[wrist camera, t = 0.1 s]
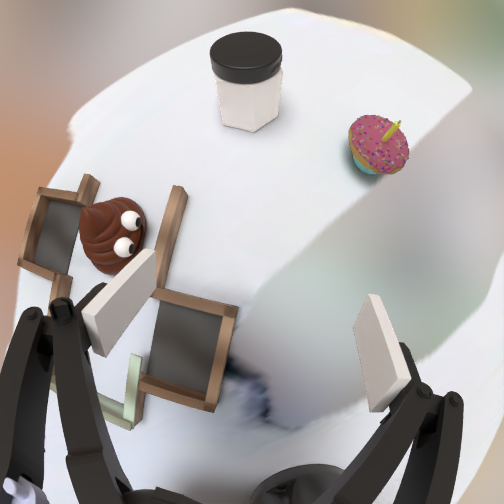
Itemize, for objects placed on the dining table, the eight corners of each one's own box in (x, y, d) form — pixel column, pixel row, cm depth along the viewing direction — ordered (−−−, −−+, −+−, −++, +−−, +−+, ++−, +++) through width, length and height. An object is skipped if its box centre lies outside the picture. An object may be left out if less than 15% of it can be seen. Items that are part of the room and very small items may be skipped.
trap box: (209, 440, 28) (204, 455, 24) (19, 353, 29) (4, 355, 25) (260, 209, 33) (260, 197, 29) (55, 177, 34) (42, 167, 30)
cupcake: (384, 198, 33) (431, 157, 21) (330, 166, 34) (358, 112, 22) (399, 153, 34) (438, 109, 22) (350, 125, 35) (377, 70, 23)
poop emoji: (106, 198, 33) (69, 171, 24) (158, 205, 33) (129, 175, 24) (88, 268, 32) (44, 257, 23) (140, 282, 32) (101, 275, 22)
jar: (283, 128, 35) (292, 67, 23) (224, 138, 35) (214, 76, 23) (268, 86, 36) (271, 26, 24) (216, 93, 36) (206, 34, 24)
